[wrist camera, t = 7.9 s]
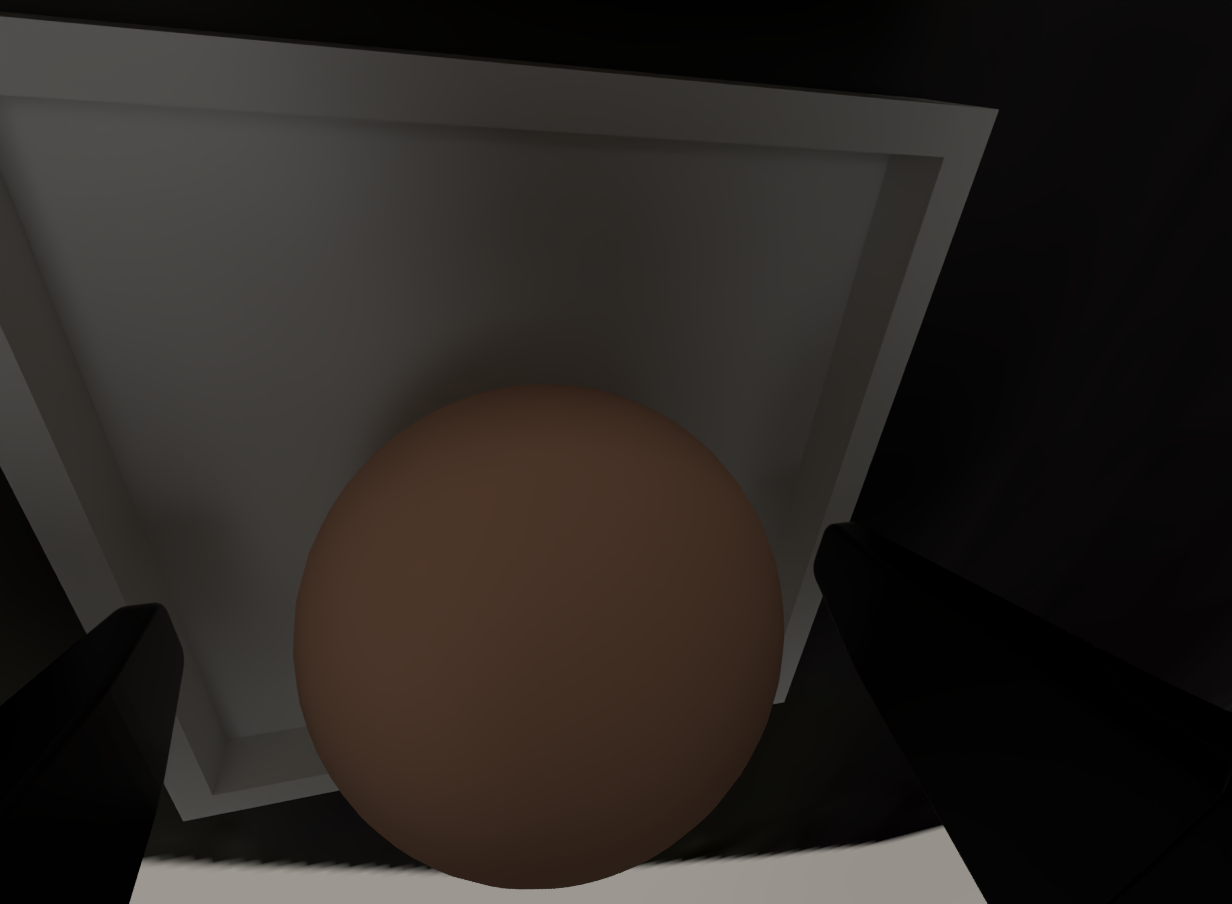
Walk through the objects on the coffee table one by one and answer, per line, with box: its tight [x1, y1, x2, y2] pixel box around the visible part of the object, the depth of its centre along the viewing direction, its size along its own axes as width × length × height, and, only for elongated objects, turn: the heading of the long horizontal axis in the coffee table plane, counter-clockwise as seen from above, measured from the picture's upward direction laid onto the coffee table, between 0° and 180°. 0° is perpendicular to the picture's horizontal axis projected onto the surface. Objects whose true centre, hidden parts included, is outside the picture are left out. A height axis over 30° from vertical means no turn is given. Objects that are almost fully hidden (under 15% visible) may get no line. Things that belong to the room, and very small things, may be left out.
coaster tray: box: [0, 11, 999, 821], centre depth 11 cm, size 12×12×2 cm
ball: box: [293, 384, 784, 889], centre depth 8 cm, size 6×6×6 cm
